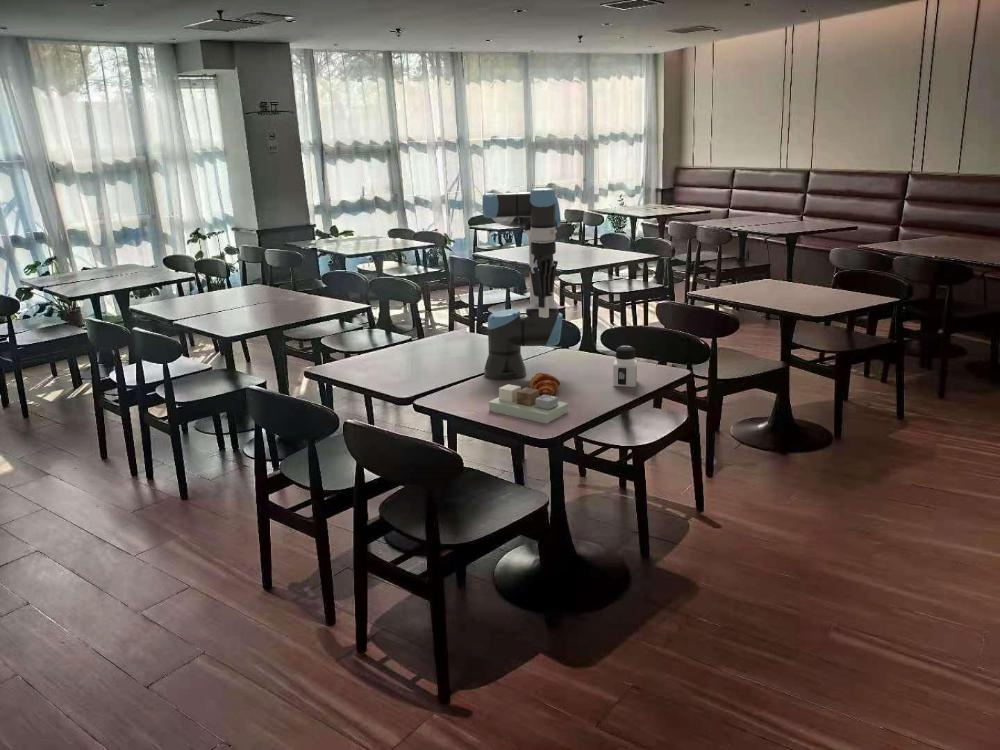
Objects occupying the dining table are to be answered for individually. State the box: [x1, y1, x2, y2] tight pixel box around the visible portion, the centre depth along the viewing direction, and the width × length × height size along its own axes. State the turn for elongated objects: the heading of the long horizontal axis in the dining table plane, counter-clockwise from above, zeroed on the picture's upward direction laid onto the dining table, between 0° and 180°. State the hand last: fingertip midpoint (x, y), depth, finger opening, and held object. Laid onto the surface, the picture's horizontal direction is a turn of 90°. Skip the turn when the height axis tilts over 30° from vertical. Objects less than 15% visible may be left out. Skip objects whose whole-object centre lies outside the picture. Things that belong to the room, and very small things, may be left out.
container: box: [612, 345, 638, 388], centre depth 279 cm, size 8×8×13 cm
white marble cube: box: [535, 395, 559, 411], centre depth 251 cm, size 5×5×5 cm
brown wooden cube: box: [517, 387, 540, 407], centre depth 254 cm, size 5×5×5 cm
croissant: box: [529, 372, 561, 397], centre depth 275 cm, size 21×10×8 cm, turn 0°
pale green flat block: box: [488, 396, 569, 424], centre depth 255 cm, size 22×12×3 cm, turn 54°
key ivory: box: [498, 383, 522, 403], centre depth 258 cm, size 5×5×5 cm
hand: (543, 316), depth 251 cm, fingers closed
